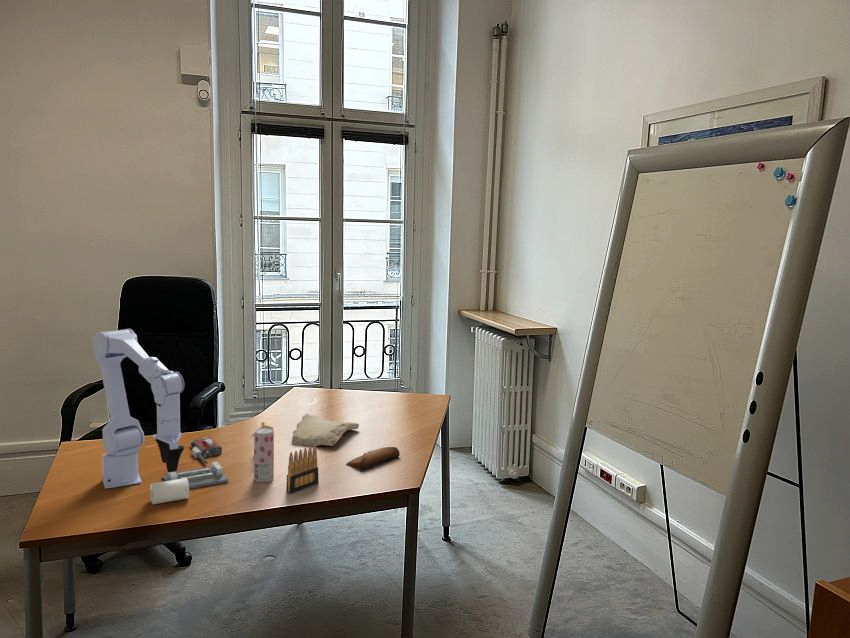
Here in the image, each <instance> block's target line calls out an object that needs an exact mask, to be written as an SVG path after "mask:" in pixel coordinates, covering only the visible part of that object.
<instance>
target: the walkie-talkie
mask: <svg viewBox="0 0 850 638" xmlns="http://www.w3.org/2000/svg"><path fill="white" fill-rule="evenodd" d="M190 446H191V448H192V449H191V455H192V456H193V457H194V459H200V461H201V462H202V463H204V464H206V465H207V464H208V460H207V459H205V458H208V457H207V456H209V457H214V456H213V455H215V456H219V454H220V455H222V453H223V448H222V446H221V445H220V444H219V443H218V442H217V441H216V440H214V439H213V438H212V437H208V436H207V437H199V438H194V439H193V440H192V442H191V443H190Z"/></svg>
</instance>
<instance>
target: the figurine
mask: <svg viewBox="0 0 850 638" xmlns="http://www.w3.org/2000/svg"><path fill="white" fill-rule="evenodd" d="M260 428H270V429H272V430H273V433H274V434H275V432H274V431H275V430H274V427H272V426H269V425H267V424H266V423H265V422H264V421H262V422H261V426H260ZM260 428H258V429H260ZM254 434H255V432H254V433H252V435H251V437H250V439H252V438H254Z"/></svg>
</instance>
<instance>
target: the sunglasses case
mask: <svg viewBox="0 0 850 638" xmlns="http://www.w3.org/2000/svg"><path fill="white" fill-rule="evenodd" d="M400 454H401V453H400V450H399V449H398V448H397V447H395V446H386V447H380V448H376V449H374V450H373V449H372V450H370V451H367V452H364V453H363V455H360V456H357V457H355V458H354V459H351V460H350V461H348V462H346V463H345V466H346V465H347V466H346V467H349V466H350V468H352V469H354V468H355V470H357V469H358V470H357V471H359V470H360V471H359V472H362V471H366V470H367V469H370V468H372V467H374V466H376V465H377V464H380V463H384V462H385V461H389V460H392V459H394V458H399V457H400ZM398 456H399V457H398Z"/></svg>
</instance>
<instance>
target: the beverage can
mask: <svg viewBox="0 0 850 638" xmlns="http://www.w3.org/2000/svg"><path fill="white" fill-rule="evenodd" d="M273 430H274V429H273ZM273 430H272V429H270V428H261V427H260V429H259V428H257V429H255V430H254V433H255V434H254V433H253V434H254V436H253V453H254V454H253V479H254V480H255V482H257V483H268V482H271V481H273V479H274V477H275V476H274V473H275V472H274V470H275V467H274V466H275V465H274V464H275V458H274V457H275V455H274V454H275V453H274V452H275V451H274V449H275V447H274V446H275V432H274V433H273Z"/></svg>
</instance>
